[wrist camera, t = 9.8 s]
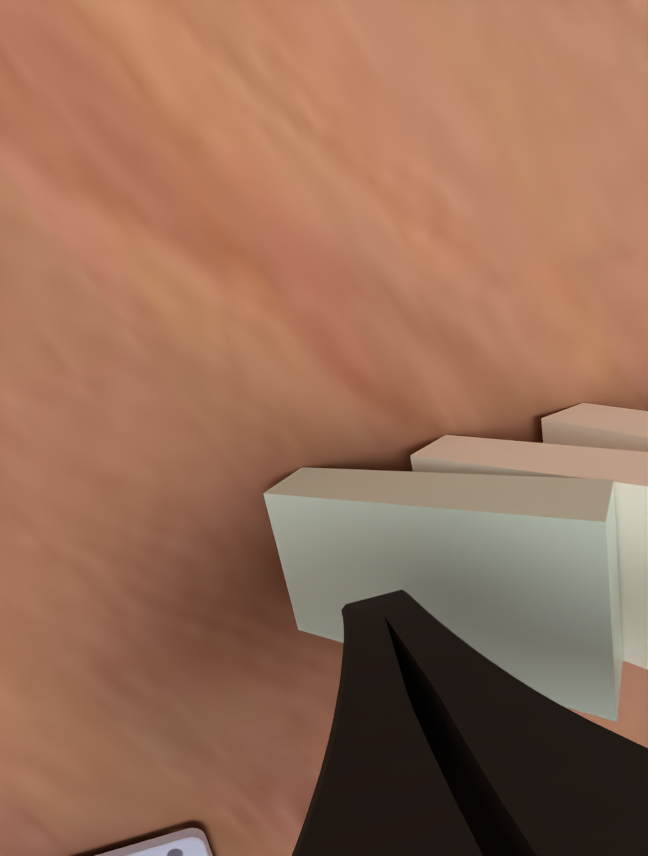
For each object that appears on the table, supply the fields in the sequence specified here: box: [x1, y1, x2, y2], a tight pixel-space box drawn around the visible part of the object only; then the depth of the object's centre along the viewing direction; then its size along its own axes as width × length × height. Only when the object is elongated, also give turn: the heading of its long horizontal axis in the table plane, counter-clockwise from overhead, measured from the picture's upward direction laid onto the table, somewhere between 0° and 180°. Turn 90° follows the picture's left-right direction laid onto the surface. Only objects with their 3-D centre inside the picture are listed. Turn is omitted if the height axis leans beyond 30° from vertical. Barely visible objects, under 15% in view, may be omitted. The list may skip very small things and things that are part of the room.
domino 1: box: [263, 467, 623, 722], centre depth 12 cm, size 2×4×8 cm
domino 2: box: [410, 435, 648, 670], centre depth 12 cm, size 2×4×8 cm
